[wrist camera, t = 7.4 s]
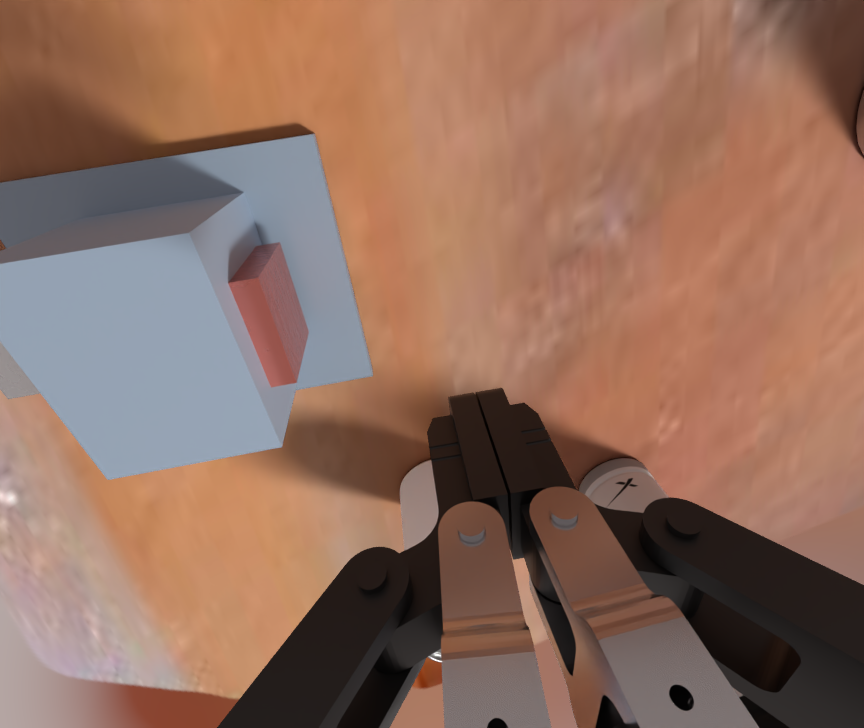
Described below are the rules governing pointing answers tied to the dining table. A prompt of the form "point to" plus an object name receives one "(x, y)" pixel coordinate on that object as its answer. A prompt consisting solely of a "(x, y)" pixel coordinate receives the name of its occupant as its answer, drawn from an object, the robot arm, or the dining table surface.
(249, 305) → the pin
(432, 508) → the can
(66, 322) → the block
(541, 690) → the robot arm
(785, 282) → the dining table surface
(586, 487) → the travel mug
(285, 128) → the dining table surface
